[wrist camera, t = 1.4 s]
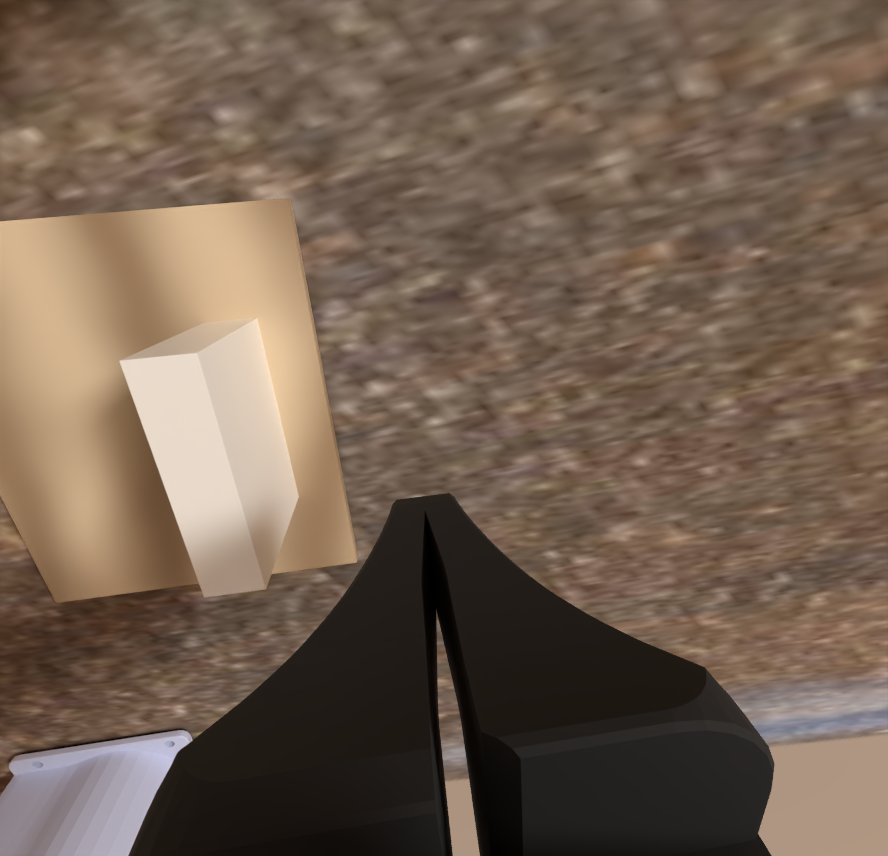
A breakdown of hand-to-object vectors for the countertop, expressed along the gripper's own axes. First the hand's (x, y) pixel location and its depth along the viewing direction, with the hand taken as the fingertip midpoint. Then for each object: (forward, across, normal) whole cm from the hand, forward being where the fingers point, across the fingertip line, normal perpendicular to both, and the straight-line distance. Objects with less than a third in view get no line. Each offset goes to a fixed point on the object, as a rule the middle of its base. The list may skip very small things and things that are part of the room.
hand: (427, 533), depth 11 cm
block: (+10, +6, 0) cm, 12 cm away
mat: (+10, +10, 0) cm, 15 cm away
